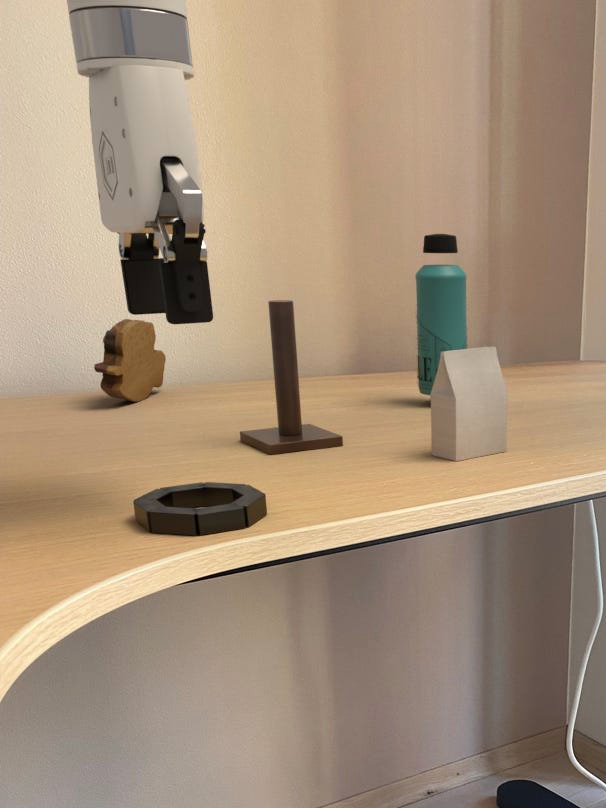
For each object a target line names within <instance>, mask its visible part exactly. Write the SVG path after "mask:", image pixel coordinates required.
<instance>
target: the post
mask: <svg viewBox="0 0 606 808" xmlns="http://www.w3.org/2000/svg"><path fill="white" fill-rule="evenodd" d="M268 315H269V328H270V342H271V353H272V364H273V378H274V390H275V403H276V404H275V406H276V415H277V416H276V417H277V418H276V419H277V427H268V428H258V429H249V430H241V431H239V438H240V439H239V440H240V442H242V443H244V444H247V445H249V446H251V447H253V448H255V449H257V450H259V451H261V452H263V453H266V454H268V455H270V456H273V455H279V454H287V453H288V454H289V453H294V452H303V451H311V450H319V449H326V448H327V449H328V448H337V447H343V446H344V440H343V439H344V438H343V435H341V434H337V433H335V432H333V431H330V430H327V429H324V428H322V427H319V426H317V425H314V424H312V423H306V424H305V423H303V424H302V408H301V396H300V394H301V393H300V380H299V367H298V366H299V364H298V352H297V351H298V350H297V337H296V336H297V335H296V325H295V324H296V323H295V321H296V320H295V307H294V301H293V300H290V299H275V300H273V299H272V300H269V301H268Z"/></svg>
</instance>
